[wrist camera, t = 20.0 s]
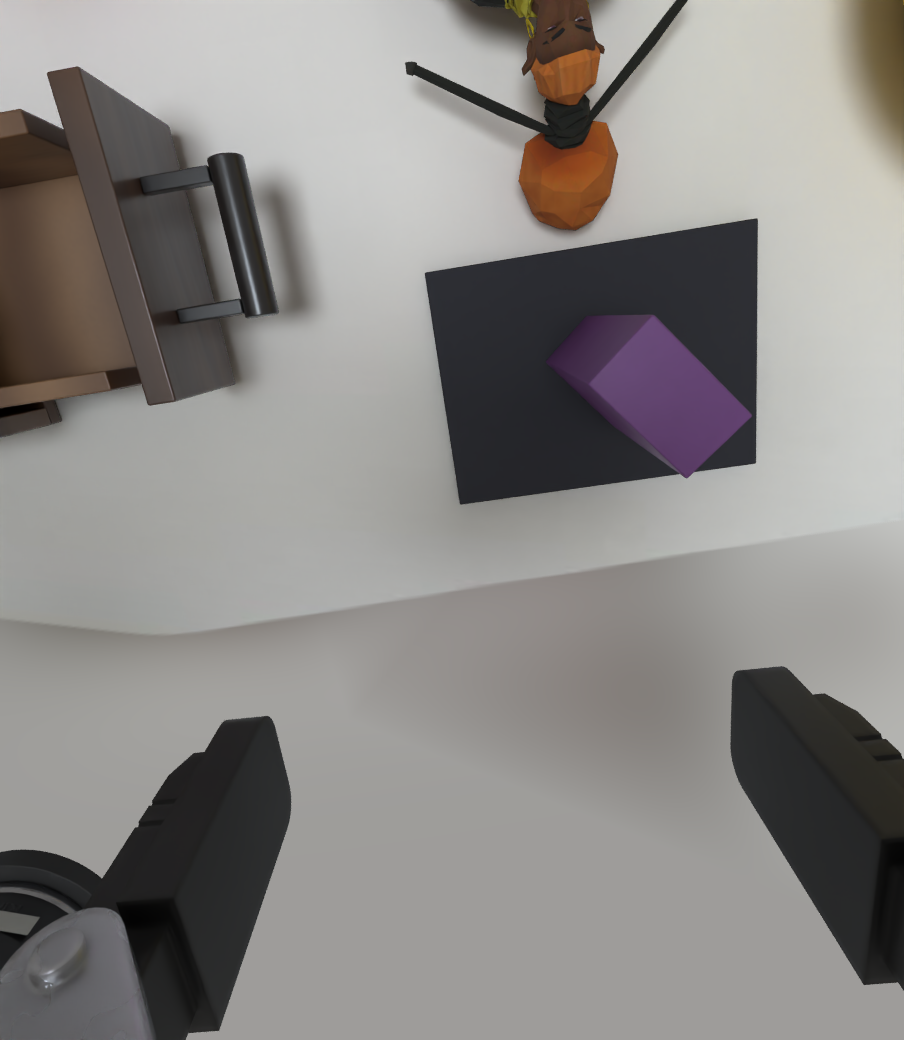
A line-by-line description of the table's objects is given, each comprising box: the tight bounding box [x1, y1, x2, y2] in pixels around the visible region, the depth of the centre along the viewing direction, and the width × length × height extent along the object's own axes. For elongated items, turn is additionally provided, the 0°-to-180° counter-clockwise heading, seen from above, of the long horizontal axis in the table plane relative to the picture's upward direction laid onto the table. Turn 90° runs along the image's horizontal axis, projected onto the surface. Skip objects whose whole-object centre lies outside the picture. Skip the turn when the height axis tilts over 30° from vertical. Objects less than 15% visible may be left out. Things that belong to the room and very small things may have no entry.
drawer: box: [0, 67, 279, 408], centre depth 26 cm, size 18×12×7 cm, turn 99°
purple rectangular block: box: [546, 315, 752, 478], centre depth 26 cm, size 5×3×11 cm, turn 49°
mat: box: [425, 219, 758, 504], centre depth 31 cm, size 12×16×1 cm
